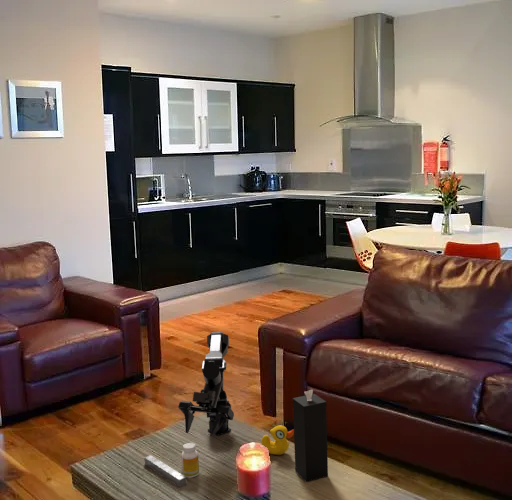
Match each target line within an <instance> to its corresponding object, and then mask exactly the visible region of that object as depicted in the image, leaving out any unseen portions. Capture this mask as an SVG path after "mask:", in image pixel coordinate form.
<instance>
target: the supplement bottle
mask: <svg viewBox="0 0 512 500" xmlns="http://www.w3.org/2000/svg"><path fill="white" fill-rule="evenodd" d="M180 455H181V468H182V469H181V470H182V471H181V472H182V473H181V474H182V475H184V476H185V477H186V478H189V479H190V478H195V477H197V476H198V475H199V474H200V465H199V452H198V450H197V449H196V444H195V443H192V442H187V443H185V444H183V445H182V451H181V454H180Z"/></svg>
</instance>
